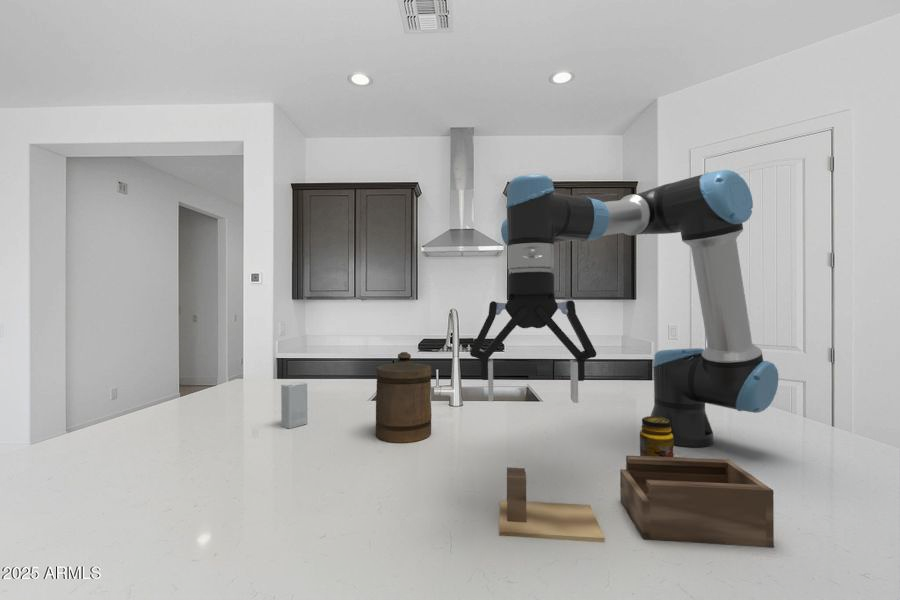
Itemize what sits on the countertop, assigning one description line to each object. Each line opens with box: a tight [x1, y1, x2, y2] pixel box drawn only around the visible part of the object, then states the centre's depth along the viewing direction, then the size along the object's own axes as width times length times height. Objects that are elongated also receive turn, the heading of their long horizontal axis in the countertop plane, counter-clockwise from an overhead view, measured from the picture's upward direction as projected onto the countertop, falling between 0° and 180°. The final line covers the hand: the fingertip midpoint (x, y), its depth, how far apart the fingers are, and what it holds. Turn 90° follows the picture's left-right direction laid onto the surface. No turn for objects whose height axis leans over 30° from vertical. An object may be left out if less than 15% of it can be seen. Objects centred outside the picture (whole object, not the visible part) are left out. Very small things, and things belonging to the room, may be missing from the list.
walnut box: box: [619, 454, 775, 548], centre depth 68 cm, size 12×18×8 cm, turn 83°
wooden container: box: [375, 351, 432, 444], centre depth 113 cm, size 15×15×22 cm
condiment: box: [639, 415, 674, 457], centre depth 85 cm, size 7×8×12 cm
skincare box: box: [280, 381, 308, 429], centre depth 121 cm, size 6×4×12 cm
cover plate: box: [499, 466, 606, 543], centre depth 68 cm, size 10×15×8 cm, turn 83°
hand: (532, 400), depth 70 cm, fingers open, 13 cm apart
